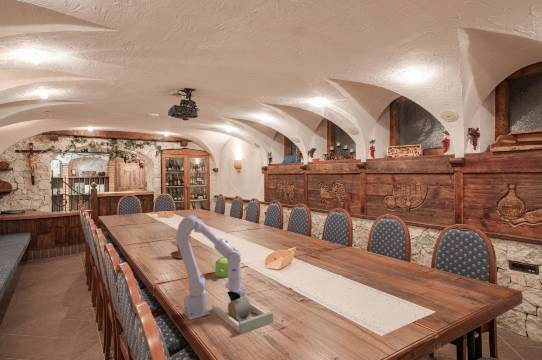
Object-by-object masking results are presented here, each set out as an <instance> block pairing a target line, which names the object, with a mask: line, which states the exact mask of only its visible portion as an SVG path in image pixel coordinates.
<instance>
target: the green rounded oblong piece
mask: <svg viewBox="0 0 542 360" xmlns="http://www.w3.org/2000/svg"><path fill="white" fill-rule="evenodd" d="M214 265H215V266H214V267H215V269H214V270H215V271H214V272H215V273H214V275H215V277H216V278H227V279H228V267H229V266H228V262H227V258H224V257H223V256H221V257H220V258H218V259H217V260H216V261H215V264H214Z"/></svg>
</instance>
